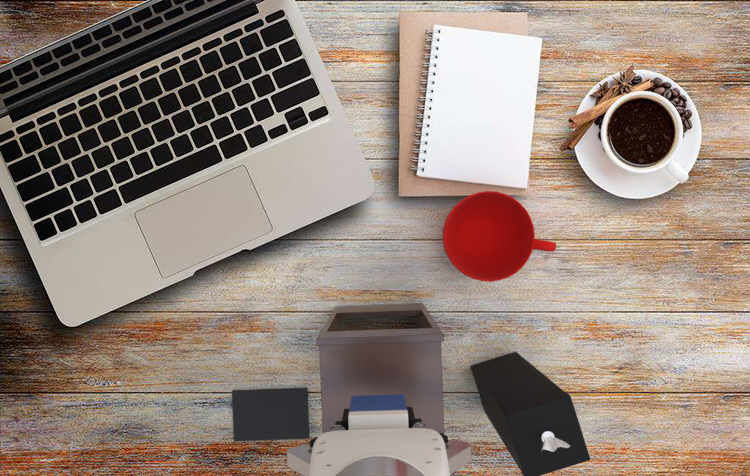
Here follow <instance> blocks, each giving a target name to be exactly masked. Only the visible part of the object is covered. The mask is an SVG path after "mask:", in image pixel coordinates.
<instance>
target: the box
mask: <svg viewBox="0 0 750 476" xmlns="http://www.w3.org/2000/svg"><path fill="white" fill-rule="evenodd" d="M348 425H349V430H365V429H397V428H409V426H408V411H407V406H406V401H405V395H404V394H399V395H368V396H352V397H351V403H350V409H349V415H348Z"/></svg>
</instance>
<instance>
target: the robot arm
mask: <svg viewBox="0 0 750 476" xmlns="http://www.w3.org/2000/svg"><path fill="white" fill-rule="evenodd" d="M407 411H408V426H409V428H397V429H365V430H349V425H348V415H349V409H344V412H343V417H342V421H336V423H335V425H333V426H330V427H329V428H330V432H326V433H323V434H322V433H321V434H320V435H319V436H315V437H313V438H312V439H310V440H309V444H307V443H303V444H300V445H297V446H293V447H290V448H288V449H286V466H287V468H289V469H291V470H293V471H294V472H296V473H298V474H299V475H301V476H451V475H452V474H454V473H455V472H457V471H459V470H460V469H461V468H463V467H464V466H466V465H467V464H469V463H471V462H472V460H473V456H472V454H473V453H472V452H473V451H472V443H470V442H466V441H463V440H459V439H454V438H452V439H449V436H448V435H447V434H445V433H444V434H443V433H438V432H437V431H435V430H433V429H428V424H427V423H424V422H422V420H421V418H420V419H415V416H414V412H413V407H407Z"/></svg>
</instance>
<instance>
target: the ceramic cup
mask: <svg viewBox="0 0 750 476" xmlns="http://www.w3.org/2000/svg"><path fill="white" fill-rule="evenodd" d="M535 233H536V232H535V228H534V224H533V220H532V217H531V216H530V214H529V212H528V210H527V209H526V208H525V206H523V204H522V203H520V202H519V201H518V200H516V198H514V197H512V196H510V195H508V194H506V193H504V192H500V191H491V190H485V191H477V192H476V193H472V194H470V195H468V196H466V197H464V198H462V199H461V200H460V201H459V202H457V203H456V204H455V205H454V207H453V208H452V209H451V211H449V213H448V215H447V216H446V218H445V221H444V223H443V227H442V236H441V237H442V244H443V248H444V252H445V254H446V257H447V258H448V260H449V261H450V263H451V265H453V266H454V268H455V269H456V270H457V271H459V272H461V273H462V274H463V275H464V276H467V277H468V278H470V279H472V280H476V281H480V282H491V283H492V282H497V281H498V282H499V281H503V280H505V279H509V278H510V277H513V275H515V274H517V273H518V272H519V271H520V270H521V269H523V268H524V266H525V265H526V264H527V262H528V261H529V259H530V258H531V255H532V253H533V250H535V251H544V252H551V253H553V252H555V251H556V249H557V243H556V242H554V241H551V240H550V241H549V240H543V239H538V238H537V239H536V238H535V237H536V234H535Z"/></svg>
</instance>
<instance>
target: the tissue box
mask: <svg viewBox="0 0 750 476" xmlns="http://www.w3.org/2000/svg"><path fill="white" fill-rule="evenodd" d="M469 367H470V371H471V373H472V377H473V381H474V383H475V386H476V389H477V393H478V395H479V399H480V402H481V405H482V408H483V411H484V414H485V415H486V417H487V418H488V420H489V421H490V423H491V425H492V426H493V428H494V430H495V432H496V433H497V435H498V437H499V438H500V439H501V441H502V443H503V445H504V446H505V448H506V450H507V451H508V452H509V454H510V456H511V458H512V459H513V461H514V462H515V464H516V466H517V467H518V469H519V471H520V472H521V475H522V476H544V475H547V474H550V473H553V472H557V471H560V470H563V469H566V468H569V467H573V466H576V465H580V464H582V463H585V462H588V461H591V457H590V453H589V450H588V447H587V443H586V440H585V437H584V434H583V430H582V428H581V427H582V426H581V424H580V421H579V419H578V415H577V413H576V409H575V406H574V402H573V399H572V396H571V395H570V394H569V393H568V392H566V391H565V390H563V389H562V388H561V387H559V386H558V385H557V384H556V383H555V382H553V381H552V380H551V379H550V378H549V377H548V376H546V375H545V374H544V373H542V372H541V371H540V370H539V369H538V368H536V367H535V366H534V365H533V364H532V363H531V362H529V361H528V360H527V359H526V358H525V357H523V356H522V355H521V354H519V353H518V351H514V352H510V353H507V354H504V355H501V356H497V357H495V358H491V359H488V360H485V361H482V362H478V363H475V364H472V365H470V366H469Z"/></svg>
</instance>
